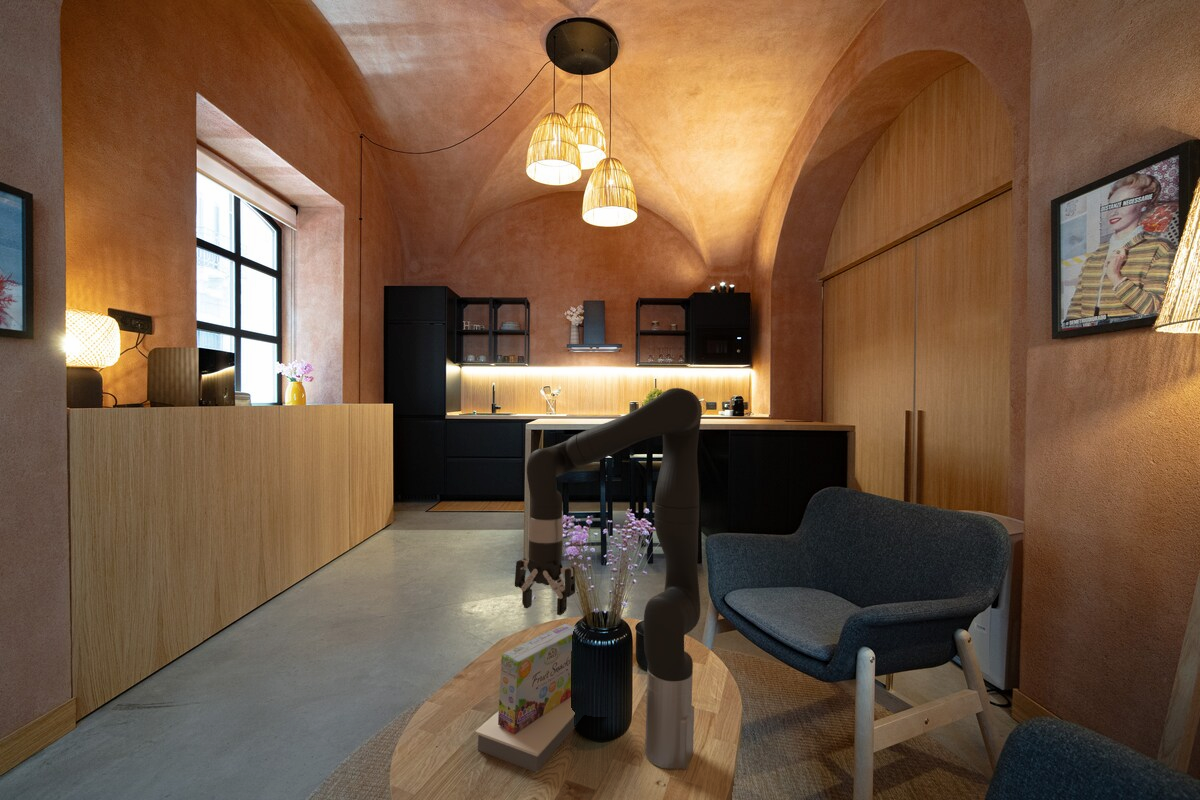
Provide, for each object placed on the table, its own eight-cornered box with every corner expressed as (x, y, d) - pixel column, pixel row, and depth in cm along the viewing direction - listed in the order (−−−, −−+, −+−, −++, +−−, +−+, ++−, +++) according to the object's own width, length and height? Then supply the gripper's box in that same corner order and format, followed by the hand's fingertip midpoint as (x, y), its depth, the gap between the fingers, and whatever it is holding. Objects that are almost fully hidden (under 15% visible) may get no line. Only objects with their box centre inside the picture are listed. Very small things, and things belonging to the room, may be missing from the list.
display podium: (597, 704, 124) (597, 687, 124) (537, 775, 100) (537, 754, 100) (543, 687, 130) (543, 671, 131) (474, 750, 106) (475, 731, 106)
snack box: (516, 736, 105) (518, 661, 105) (496, 726, 108) (499, 653, 108) (580, 691, 122) (582, 627, 122) (562, 683, 125) (564, 621, 125)
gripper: (581, 537, 116) (580, 610, 116) (527, 530, 122) (526, 599, 122) (565, 545, 109) (563, 623, 109) (509, 536, 115) (507, 610, 115)
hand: (543, 610), depth 115 cm, fingers open, 8 cm apart
